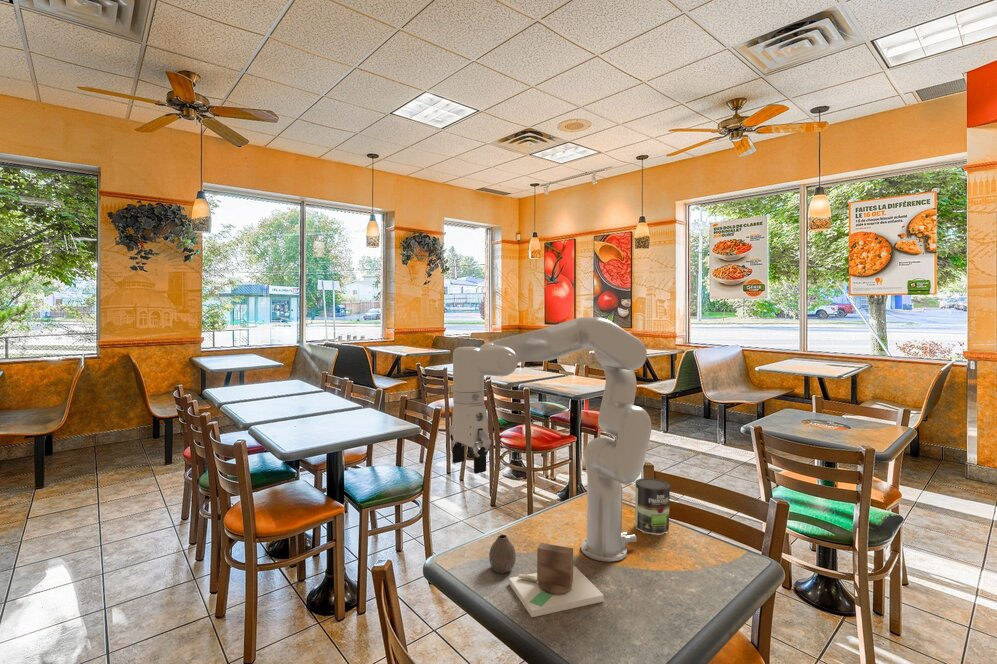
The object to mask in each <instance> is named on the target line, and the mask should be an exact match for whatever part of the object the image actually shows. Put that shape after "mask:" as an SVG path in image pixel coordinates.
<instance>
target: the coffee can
mask: <svg viewBox="0 0 997 664" xmlns="http://www.w3.org/2000/svg"><path fill="white" fill-rule="evenodd" d="M634 482H635V508H634V510H635V511H634V512H635V516H634V517H635V518H634V528H635V527H636V528H635V530H637V529H638V530H640V531H642V532H644V533H643V534H645V533H647V534H646V535H648V534H664V533H666V532H668V531H669V532H670V495H671V493H670V492H671V485H670V483H668V482H667V481H665V480H662V479H659V478H653V477H652V478H651V477H650V478H649V477H648V478H647V477H644V478H643V477H642V478H637V479H636V480H635V481H634ZM638 530H637V531H638ZM640 531H639V532H640ZM642 532H641V533H642ZM669 532H668V533H669Z"/></svg>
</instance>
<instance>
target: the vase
mask: <svg viewBox="0 0 997 664" xmlns="http://www.w3.org/2000/svg"><path fill="white" fill-rule="evenodd" d="M516 554H517V552H516V549H515V546H514V544H513V543H512V542H511V541H510V540H509V538H508V536H507V534H499V535H498V536H497V538H496V540H495V541H494V542H493V543H492V544H491V546H490V549H489V554H488V556H489V557H488V561H489V564H490V567H491V569H493V570H494V571H495V572H496V573H498V574H508V573H509V572H510V571H512V570H513V568H514V567H515V564H516V558H517V555H516Z"/></svg>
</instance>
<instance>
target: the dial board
mask: <svg viewBox="0 0 997 664" xmlns="http://www.w3.org/2000/svg"><path fill="white" fill-rule="evenodd" d="M527 575H529V576H534V577H537V572H534V573H529V574H527ZM518 576H519V575H517V576H514V577H508V578H509V579H508V580H509V581H508V585H509V586H510V588H511V589H512V590H513V592H514V594H516V596H517V598H518V599H519V601H520V602H521V603H522V605H523V606H524V608H525V610H526V611H527V612H528V614H529V616H530V617H531V618H534V617H535V618H536V617H539V616H544V615H545V616H546V615H548V614H549V615H550V614H554V613H559V612H562V611H567V610H571V609H574V608H575V609H576V608H580V607H585V606H589V605H594V604H600V603H604V602H605V601H604V597H605V595H604V594H603V593H602V592H601V591H600V590H599V588H598V587H596V586H595V585H594V583H592V581H590V580H589V578H587V577H586V576H585V575H584V574H583V572H581V571H580V570H579V568H578V567H576V565H573V583H572V588H571V590H570V591H568V592H567V593H564V594H550V593H547V592H545V591H543V590H541V589H540V588H539V586H538V582H535V581H530V580H526V579H521V578H518Z"/></svg>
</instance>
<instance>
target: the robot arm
mask: <svg viewBox="0 0 997 664" xmlns="http://www.w3.org/2000/svg"><path fill="white" fill-rule="evenodd" d="M584 350H593V353H594V357H595V359H596V361H597V362H598V364H599V365H600V366H601V368H602V370H603V373H604V376H605V384H604V385H605V386H604V390H603V395H602V399H601V403H600V407H599V411H598V417H597V423H598V424H597V425H598V427H599V429H601V430H602V431H603V432H604V433H606V434H609V435H611V436H613V437H617V439H616V440H614V439H610V438H608V437H602V436H600V437H595V438H593V439H591V440H590V441H588V443H587V444H586V446H585V448H584V459H583V460H584V466H585V471H586V478H587V479H586V482H587V486H586V487H587V492H586V493H587V498H586V499H587V500H586V504H587V505H586V507H587V508H586V539H584V540H583V541H582V542H581V544H580V549H581V552H582V553H583V554H584V555H585V556H587V557H588V558H590V559H592V560H596V561H600V562H618V561H621V560H623V559H625V558H626V556H627V555H628V547H627V546H626V545H628V543H635V542H637V540H638V539H637V535H636V534H633V533H632V534H629V535H628V533H627V532H626V531H625V532H623V528H622V527H623V524H622V523H623V485H622V484H624V485H625V484H627V485H628V484H629V485H630V484H632V483H634V482H636V480H638V479H639V477H640V475H641V473H642V470H643V467H644V464H645V460H646V457H647V452H648V447H649V444H650V439H651V435H652V434H651V433H652V422H651V421H652V419H651V417H650V415H649V413H648V412H647V411H646V410H645V409H644V408H643V407H641V406H637V405H634V404H635V399H636V393H637V378H636V374H635V370H638V369H640V368H642V366H643V365H644V364H645V363H646V361H647V358H648V353H647V352H648V351H647V348H646V346H645V343H644V342H643V341H642V340H640V339H639V338H638V337H636V336H635V335H633V334H632V333H630V332H628V331H626V330H625V329H624V328H622V327H621V326H619V325H618V324H616V323H614V322H612V321H611V320H609V319H606V318H604V317H595V316H594V317H590V316H585V317H582V316H581V317H576V318H573V319H570V320H567V321H564V322H559V323H558V324H554V325H551V326H547V327H543V328H541V329H540V328H539V329H534V330H532V331H528V332H524V333H520V334H515V335H511V336H507V337H503V338H499V339H496V340H493V341H490V342H486V343H484V344H482V345H480V346H458V347H456V348H455V349H454V350H453V352H452V389H453V390H452V399H453V401H452V403H453V404H452V405H453V407H452V417H451V425H450V426H449V427H448V430H449V431H448V432H449V434H450V436H449V438H450V440H451V447H452V463H453V464H458V463H463V462H464V461H465V460H466V459H465V449H466V448H465V446H466V447H470V448H472V450H473V453H474V455H475V456H473V473H474V474H475V475H476V474H480V473H481V474H482V473H485V472H486V471H487V456H488V455H489V451H490V447H491V444H492V440H491V438H490V437H489V425H488V424H489V422H488V413H487V412H488V411H487V407H486V404H485V376H491V377H506V376H509V375H511V374H512V373H514V372H515V371H516V369H517V367H518V364H520V363H526V362H547V361H553V360H556V359H559V358H561V357H565V356H567V355H570V354H574V353H576V352H579V351H584ZM479 447H480V448H479Z"/></svg>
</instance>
